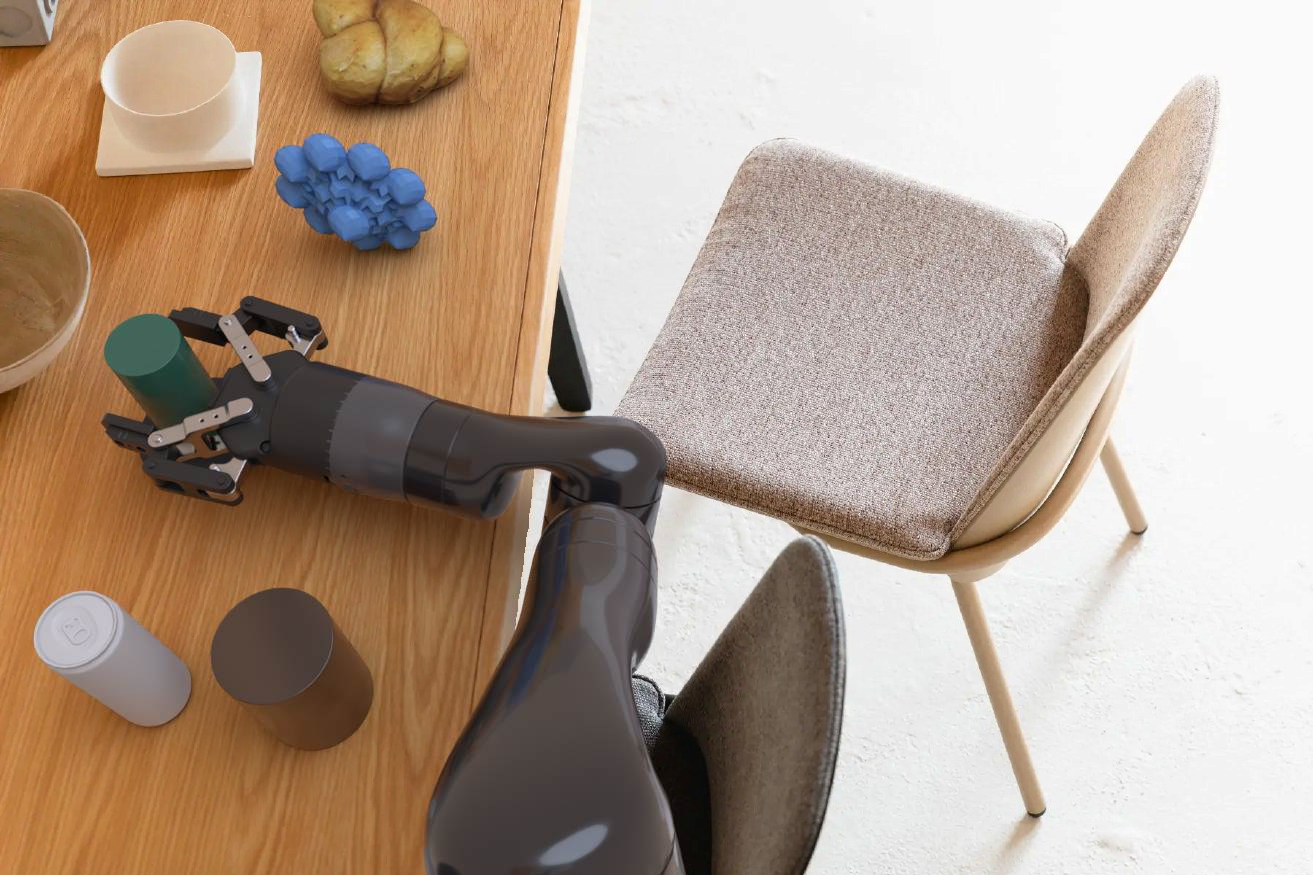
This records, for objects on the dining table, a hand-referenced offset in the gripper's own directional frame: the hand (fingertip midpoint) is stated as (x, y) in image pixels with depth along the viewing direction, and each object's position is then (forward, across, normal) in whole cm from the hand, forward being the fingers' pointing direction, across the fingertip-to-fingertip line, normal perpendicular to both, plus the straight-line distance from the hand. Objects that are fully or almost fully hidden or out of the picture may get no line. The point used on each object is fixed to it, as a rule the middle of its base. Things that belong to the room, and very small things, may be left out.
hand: (141, 371), depth 78 cm
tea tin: (-2, 0, +7) cm, 7 cm away
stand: (-18, +15, +8) cm, 25 cm away
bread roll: (-1, -37, +8) cm, 38 cm away
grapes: (-6, -19, +8) cm, 21 cm away
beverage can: (-8, +18, +8) cm, 21 cm away
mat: (-2, 0, +8) cm, 8 cm away
